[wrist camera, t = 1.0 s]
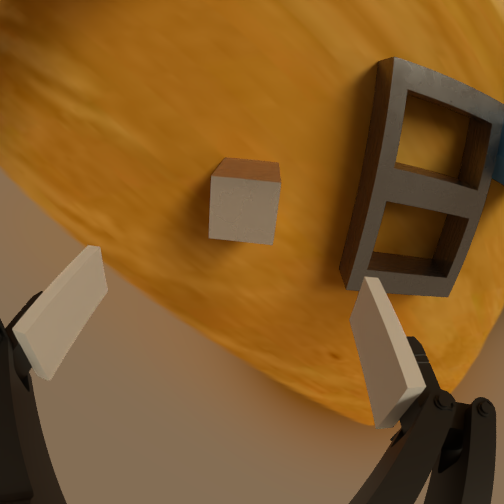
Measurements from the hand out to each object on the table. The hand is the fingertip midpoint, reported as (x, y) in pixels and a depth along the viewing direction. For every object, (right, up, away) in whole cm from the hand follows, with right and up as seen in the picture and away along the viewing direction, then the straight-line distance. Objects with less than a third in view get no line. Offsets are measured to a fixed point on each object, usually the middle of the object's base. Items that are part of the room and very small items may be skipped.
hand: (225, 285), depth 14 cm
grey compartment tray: (+18, +9, +13) cm, 24 cm away
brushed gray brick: (+1, +8, +14) cm, 16 cm away
